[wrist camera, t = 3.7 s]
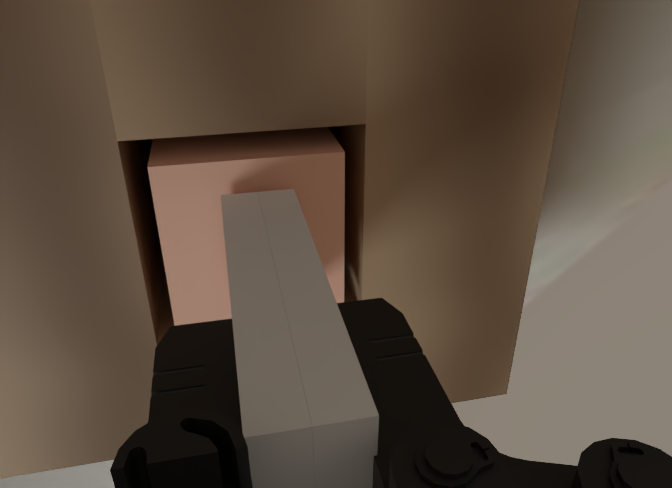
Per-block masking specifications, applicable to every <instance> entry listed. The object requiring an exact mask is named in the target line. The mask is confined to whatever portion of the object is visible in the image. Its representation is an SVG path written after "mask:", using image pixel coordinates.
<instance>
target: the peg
mask: <svg viewBox="0 0 672 488" xmlns="http://www.w3.org/2000/svg"><path fill="white" fill-rule="evenodd" d="M147 168H148V174H149V180H150V185H151V191H152V197H153V203H154V209H155V214H156V220H157V226H158V232H159V238H160V244H161V249H162V255H163V261H164V267H165V273H166V278H167V284H168V290H169V296H170V302H171V308H172V313H173V319H174V325H175V326H176V325H184V324H192V323H200V322H208V321H216V320H224V319H232V313H231V302H230V292H229V281H228V270H227V259H226V248H225V238H224V227H223V216H222V205H221V195H227V194H239V193H250V192H261V191H273V190H284V189H294V191H295V193H296V196H297V199H298V201H299V204H300V207H301V209H302V212H303V215H304V217H305V220H306V223H307V225H308V228H309V231H310V233H311V236H312V239H313V241H314V244H315V247H316V249H317V252H318V255H319V257H320V260H321V262H322V265H323V268H324V270H325V273H326V276H327V278H328V281H329V284H330V286H331V289H332V292H333V294H334V297H335V300H336V302H337V303H343V302H344V232H345V151H344V150H343V148H342V147H341V145H340V144H339V143H338V141H337V140H336V138H335V137H334V135H333V134H332V132H331V131H330V129H329V128H328V127H317V128H302V129H288V130H273V131H259V132H245V133H230V134H216V135H201V136H187V137H172V138H158V139H153V141H152V146H151V151H150V156H149V161H148V167H147Z"/></svg>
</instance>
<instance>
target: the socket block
mask: <svg viewBox="0 0 672 488" xmlns="http://www.w3.org/2000/svg"><path fill="white" fill-rule="evenodd" d="M579 1H580V0H0V478H6V477H12V476H18V475H24V474H30V473H36V472H42V471H48V470H54V469H60V468H66V467H72V466H78V465H84V464H90V463H96V462H102V461H108V460H114V459H115V457H116V454H117V452H118V449H119V448H120V447H121V446H122V445H123V444H124V442H125V441H126V440H127V439H128V438H129V437H130V436H131V435H132V434H133V433H134V431H135V430H137V429H139V428H140V427H142V426H144V425H145V424H147V423H148V419H149V409H150V398H151V388H152V377H153V367H154V357H155V348H156V346H157V345H158V344H159V342H160V341H161V339H162V338H163V336H164V335H165V333H166V332H167V331H168V329H169V328H170V326H175V325H174V319H173V313H172V308H171V302H170V296H169V290H168V284H167V278H166V273H165V267H164V261H163V255H162V249H161V244H160V238H159V232H158V226H157V220H156V214H155V209H154V203H153V197H152V191H151V185H150V180H149V174H148V168H147V167H148V161H149V156H150V151H151V146H152V139H158V138H172V137H187V136H201V135H216V134H230V133H245V132H259V131H273V130H288V129H302V128H317V127H328V128H329V129H330V131H331V132H332V134H333V135H334V137H335V138H336V140H337V141H338V143H339V144H340V145H341V147H342V148H343V150H344V151H345V232H344V302H351V301H359V300H367V299H375V298H383V299H384V300H386V301H387V302H388V303H390V304H391V305H392V306H394V307H395V308H396V309H398V310H399V311H400V312H402V313H403V315H404V317H405V318H406V320H407V322H408V324H409V326H410V328H411V330H412V332H413V333H414V338H416V339H417V341H418V343H419V345H420V346H421V348H422V350H423V355H425V356H426V358H427V359H428V361H429V363H430V365H431V367H432V369H433V371H434V372H435V374H436V376H437V378H438V380H439V382H440V384H441V386H442V387H443V389H444V391H445V393H446V395H447V397H448V399H449V400H450V402H451V403H455V402H460V401H467V400H473V399H479V398H485V397H491V396H496V395H503V394H506V393H507V388H508V383H509V377H510V372H511V367H512V361H513V356H514V351H515V345H516V340H517V334H518V329H519V323H520V318H521V313H522V307H523V302H524V297H525V291H526V286H527V281H528V275H529V270H530V264H531V259H532V254H533V248H534V243H535V238H536V232H537V227H538V221H539V216H540V211H541V205H542V200H543V194H544V189H545V184H546V178H547V173H548V168H549V162H550V157H551V151H552V146H553V141H554V135H555V130H556V124H557V119H558V114H559V108H560V103H561V98H562V92H563V87H564V81H565V76H566V71H567V65H568V60H569V55H570V49H571V44H572V38H573V33H574V28H575V22H576V17H577V11H578V6H579Z"/></svg>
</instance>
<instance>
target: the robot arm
mask: <svg viewBox="0 0 672 488" xmlns="http://www.w3.org/2000/svg"><path fill="white" fill-rule="evenodd" d="M221 205H222V216H223V227H224V238H225V248H226V259H227V270H228V281H229V292H230V302H231V313H232V319H224V320H216V321H208V322H200V323H192V324H184V325H176V326H170V328H169V329H168V331H167V332H166V333H165V335H164V336H163V338H162V339H161V341H160V342H159V344H158V345H157V346H156V348H155V357H154V367H153V377H152V388H151V398H150V409H149V419H148V423H147V424H145V425H144V426H142V427H140V428H139V429H137V430H135V431H134V433H133V434H132V435H131V436H130V437H129V438H128V439H127V440H126V441H125V442H124V444H123V445H122V446H121V447H120V448H119V449H118V452H117V454H116V457H115V459H114V462H113V464H112V467H111V470H110V471H111V475H112V478H113V482H114V485H115V488H672V457H671V456H669V455H668V454H666V453H665V452H663V451H662V450H660V449H658V448H655V447H652V446H650V445H647V444H644V443H641V442H639V441H636V440H627V439H617V438H611V439H606V440H602V441H597V442H594V443H592V444H591V445H590V446H589V447H588V448H586V449H585V450H584V451H583V452H582V453H581V456H580V460H579V463H578V466H573V465H564V464H554V463H545V462H536V461H527V460H522V459H517V458H512V457H509V456H507V455H504V454H501V453H499V452H498V451H497V449H496V448H495V447H494V446H493V445H492V444H491V442H490V441H489V440H488V439H487V438H485V437H484V436H482V435H480V434H479V433H477V432H476V431H474V430H472V429H470V428H469V427H465V426H464V425H463V424H462V422H461V421H460V419H459V417H458V415H457V414H456V412H455V410H454V408H453V406H452V404H451V402H450V400H449V399H448V397H447V395H446V393H445V391H444V389H443V387H442V386H441V384H440V382H439V380H438V378H437V376H436V374H435V372H434V371H433V369H432V367H431V365H430V363H429V361H428V359H427V358H426V356H425V355H423V350H422V348H421V346H420V345H419V343H418V341H417V339H416V338H414V333H413V332H412V330H411V328H410V326H409V324H408V322H407V320H406V318H405V317H404V315H403V313H402V312H400V311H399V310H398V309H396V308H395V307H394V306H392V305H391V304H390V303H388V302H387V301H386V300H384V299H383V298H375V299H367V300H359V301H351V302H343V303H337V302H336V300H335V297H334V294H333V292H332V289H331V286H330V284H329V281H328V278H327V276H326V273H325V270H324V268H323V265H322V262H321V260H320V257H319V255H318V252H317V249H316V247H315V244H314V241H313V239H312V236H311V233H310V231H309V228H308V225H307V223H306V220H305V217H304V215H303V212H302V209H301V207H300V204H299V201H298V199H297V196H296V193H295V191H294V189H284V190H273V191H261V192H250V193H239V194H227V195H221Z"/></svg>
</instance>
